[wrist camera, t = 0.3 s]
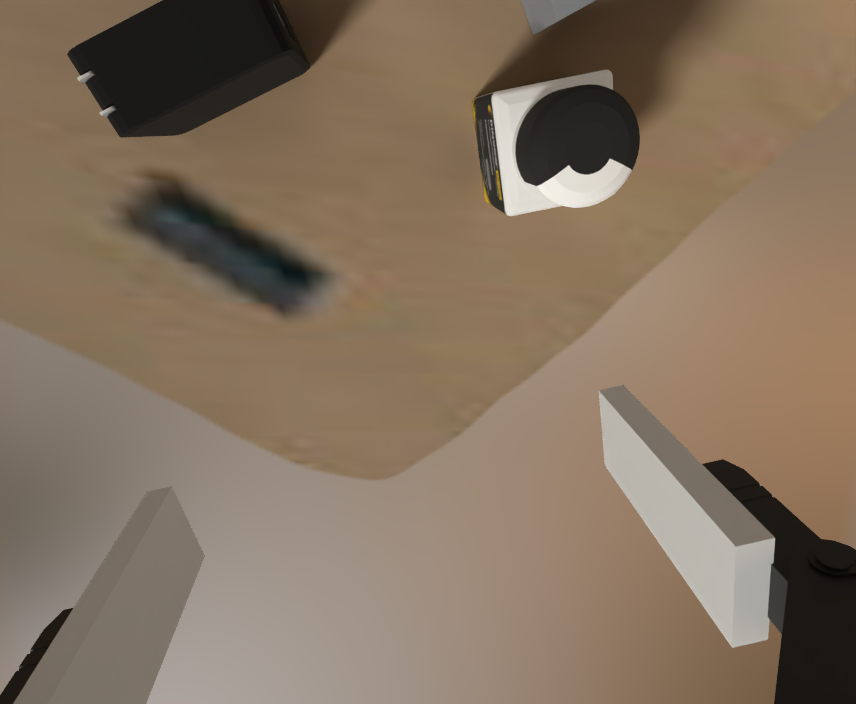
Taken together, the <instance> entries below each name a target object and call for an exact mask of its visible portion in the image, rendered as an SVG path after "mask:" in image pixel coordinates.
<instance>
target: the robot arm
mask: <svg viewBox="0 0 856 704" xmlns="http://www.w3.org/2000/svg"><path fill="white" fill-rule="evenodd" d="M599 400H600V411H601V424H602V436H603V447H604V460H605V466H606V468H607V469H608V470H609V472H610V473H611V475H612V476H613V478H614V479H615V480H616V482H617V483H618V485H619V486H620V488H621V489H622V491H623V492H624V493H625V495H626V496H627V498H628V499H629V501H630V502H631V503H632V505H633V506H634V508H635V509H636V511H637V512H638V513H639V515H640V516H641V517H642V519H643V521H644V522H645V523H646V525H647V526H648V528H649V529H650V531H651V532H652V534H653V535H654V536H655V538H656V539H657V541H658V542H659V544H660V545H661V546H662V548H663V549H664V551H665V552H666V553H667V555H668V556H669V558H670V559H671V561H672V562H673V564H674V565H675V566H676V568H677V569H678V571H679V572H680V574H681V575H682V576H683V578H684V579H685V581H686V582H687V584H688V585H689V587H690V588H691V589H692V591H693V592H694V594H695V595H696V597H697V598H698V599H699V601H700V602H701V604H702V605H703V606H704V608H705V609H706V611H707V612H708V614H709V615H710V617H711V618H712V619H713V621H714V622H715V624H716V625H717V627H718V628H719V629H720V631H721V632H722V634H723V635H724V637H725V638H726V639H727V641H728V642H729V644H730V645H731V647H732V648H733V647H737V646H742V645H746V644H751V643H754V642H759V641H764V640H768V631H769V619H770V620H771V621H772V623H773V624H774V625H775V626H776V628H777V629H778V630H779V631H780V632H781V634H782V639H781V648H780V658H779V666H778V675H777V684H776V693H775V702H774V704H856V550H855V549H854V548H852V547H850V546H848V545H845V544H842V543H839V542H836V541H832V540H823V539H820V538H819V537H818V536H817V535H816V534H815V533H814V532H812V531H811V530H810V529H809V528H808V527H807V526H806V525H805V524H804V523H803V522H801V521H800V520H799V519H798V518H797V517H796V516H795V515H794V514H792V512H790V511H789V510H788V509H787V508H786V507H785V506H784V505H783V504H782V503H781V502H779V501H778V500H777V499H776V498H775V497H774V498H773V497H772V495H771V494H770V493H769V492H768V491H767V490H766V489H765V488H764V487H763V486H760V485H759V483H758V482H757V481H756V480H755V479H754V478H753V477H752V476H751V475H750V474H748V473H747V472H746V471H745V470H744V469H742V468H740V467H738V466H736V465H734V464H731V463H729V462H727V461H725V460H718V461H714V462H709V463H705V464H701V463H700V462H699V461H698V460H697V459H696V458H695V457H694V456H693V455H692V454H691V453H690V452H689V451H688V450H687V449H686V448H685V447H684V446H683V445H682V444H681V443H680V442H679V441H678V440H677V438H676V437H675V436H674V435H673V434H672V433H670V432H669V430H668V429H667V428H666V427H665V426H664V425H662V423H660V421H659V420H658V419H656V417H655V416H654V415H653V414H652V413H651V412H650V411H649V410H648V409H647V408H646V407H645V406H644V405H643V404H642V403H641V402H640V401H639V400H638V399H637V398H636V397H635V396H634V395H633V394H632V393H631V392H630V391H629V390H628V389H627V388H626V387H625V386H624V385H622V386H617V387H613V388H608V389H604V390H599ZM204 556H205V555H204V553H203V551H202V549H201V547H200V545H199V543H198V540H197V538H196V536H195V534H194V532H193V530H192V528H191V526H190V524H189V521H188V519H187V517H186V515H185V513H184V511H183V509H182V507H181V505H180V503H179V500H178V498H177V496H176V494H175V492H174V490H173V488H172V486H171V487H167V488H162V489H158V490H153V491H149V492H146V494H145V495H144V497H143V499H142V500H141V502H140V503H139V505H138V507H137V508H136V510H135V511H134V513H133V514H132V516H131V518H130V519H129V521H128V522H127V524H126V526H125V527H124V529H123V530H122V532H121V533H120V535H119V537H118V539H117V540H116V541H115V543H114V545H113V546H112V548H111V550H110V551H109V553H108V554H107V556H106V557H105V559H104V561H103V562H102V564H101V565H100V567H99V568H98V570H97V572H96V573H95V575H94V576H93V578H92V580H91V581H90V583H89V584H88V586H87V588H86V589H85V591H84V592H83V594H82V595H81V597H80V599H79V600H78V602H77V603H76V605H75V606H74V608H71V609H66V610H63V611H62V612H61V613H60V614H59V615H58V616H57V617H56V618H55V619H54V620H53V621H52V622H51V623H50V624H49V625H48V626H47V627H46V628H45V629H44V630H43V632H42V633H41V635H40V636H39V638H38V639H37V641H36V642H35V644H34V645H33V647H32V648H31V650H30V651H31V652H30V654H27V656H26V657H25V659H24V660H23V662H22V663H21V665H20V666H19V671H16V672H15V674H14V676H13V677H12V678H11V680H10V681H9V683H8V684H7V686H6V687H5V689H4V690H3V692H2V693H1V695H0V704H146V702H147V700H148V697H149V695H150V692H151V690H152V687H153V685H154V682H155V679H156V677H157V675H158V672H159V670H160V667H161V664H162V662H163V659H164V657H165V654H166V652H167V649H168V647H169V644H170V642H171V639H172V637H173V634H174V632H175V629H176V627H177V624H178V622H179V619H180V617H181V614H182V612H183V609H184V607H185V604H186V602H187V599H188V597H189V594H190V592H191V589H192V587H193V584H194V582H195V579H196V577H197V574H198V572H199V569H200V567H201V564H202V561H203V559H204Z"/></svg>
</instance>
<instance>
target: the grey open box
mask: <svg viewBox="0 0 856 704" xmlns="http://www.w3.org/2000/svg"><path fill="white" fill-rule="evenodd" d="M594 1H596V0H521V2H522V5H523V8H524V10H525V13H526V16H527V19H528V22H529V24H530V27H531V30H532V33H533V35H535V34H537V33H538V32H540V31H542V30H544V29H546V28H547V27H549V26H551V25H553V24H555V23H556V22H558V21H560V20H562V19H564V18H565V17H567V16H569V15H571V14H573V13H574V12H576V11H578V10H580V9H582V8H583V7H585V6H587V5H589V4H591V3H592V2H594Z"/></svg>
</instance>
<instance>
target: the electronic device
mask: <svg viewBox="0 0 856 704" xmlns="http://www.w3.org/2000/svg"><path fill="white" fill-rule="evenodd" d="M67 55H68V57H69V58H70V60H71V61H72V63H73V64H74V66H75V68H76V69H77V71H78V72H79V74H80V75H81V76H80V77H78V80H79V81H80V82H83V83H86V85H87V86H88V88H89V90H90V91H91V93H92V94H93V96H94V97H95V99H96V101H97V102H98V104H99V105H100V107H101V108H102V110H103V111H101V112H99V113H100V114H101V116H106V117H107V118H108V119H109V121H110V122H111V124H112V126H113V127H114V129H115V130H116V132H117V133H118V135H119V136H120V137H144V136H172V135H179V134H183V133H186V132H188V131H190V130H192V129H194V128H196V127H198V126H200V125H202V124H204V123H206V122H208V121H210V120H212V119H214V118H216V117H218V116H220V115H222V114H224V113H226V112H228V111H230V110H232V109H234V108H236V107H238V106H240V105H242V104H244V103H246V102H248V101H250V100H252V99H254V98H256V97H258V96H260V95H262V94H264V93H266V92H268V91H270V90H272V89H274V88H276V87H278V86H280V85H282V84H284V83H286V82H288V81H290V80H292V79H294V78H296V77H298V76H300V75H302V74H303V73H305V72H306V71H307V70H308V69H309V68H310V65H309V63H308V61H307V59H306V57H305V55H304V52H303V50H302V48H301V46H300V44H299V42H298V40H297V38H296V36H295V33H294V31H293V29H292V27H291V25H290V23H289V21H288V19H287V17H286V14H285V12H284V10H283V8H282V6H281V4H280V2H279V0H163V1H161V2H159V3H157V4H155V5H153V6H151V7H149V8H147V9H145V10H144V11H142V12H140V13H138V14H136V15H134V16H132V17H130V18H128V19H126V20H124V21H123V22H121V23H119V24H117V25H115V26H113V27H111V28H109V29H107V30H105V31H104V32H102V33H100V34H98V35H96V36H94V37H92V38H90V39H88V40H86V41H84V42H83V43H81V44H79V45H77V46H75V47H74V48H72V49H71V50H70V51H69V52H68V54H67Z"/></svg>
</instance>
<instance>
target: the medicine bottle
mask: <svg viewBox="0 0 856 704" xmlns="http://www.w3.org/2000/svg"><path fill="white" fill-rule="evenodd" d="M472 107H473V114H474V122H475V129H476V136H477V144H478V151H479V159H480V166H481V173H482V181H483V188H484V195H485V200H486V202H488V203H489V204H491V205H492V206H494V207H495V208H497V209H499V210H500V211H502V212H503V213H505V214H506V215H508V216H515V215H519V214H524V213H529V212H534V211H539V210H544V209H549V208H554V207H559V206H566V207H573V208H579V207H587V206H591V205H595V204H597V203H599V202H602V201H604V200H605V199H607V198H608V197H610V196H612V195H614V194H615V193H616V192H617V190H618V189H619V188H620V187H621V186H622V185H623V184H624V182H625V181H626V180H627V178H628V177H629V175H630V173H631V171H632V169H633V167H634V165H635V162H636V159H637V156H638V151H639V141H640V135H639V127H638V123H637V119H636V116H635V114H634V112H633V110H632V108H631V106H630V105H629V104H628V102H627V101H626V100H625V99H624V98H623V97H622V96H621V95H620V94H618V93H617V92H615V91H614V90H613V75H612V72H611V71H609V70H601V71H596V72H591V73H586V74H581V75H576V76H571V77H566V78H561V79H556V80H551V81H546V82H541V83H536V84H531V85H526V86H521V87H516V88H511V89H506V90H501V91H496V92H493V93H489V94H486V95H483V96H479V97H476V98H474V99H473V101H472Z"/></svg>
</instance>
